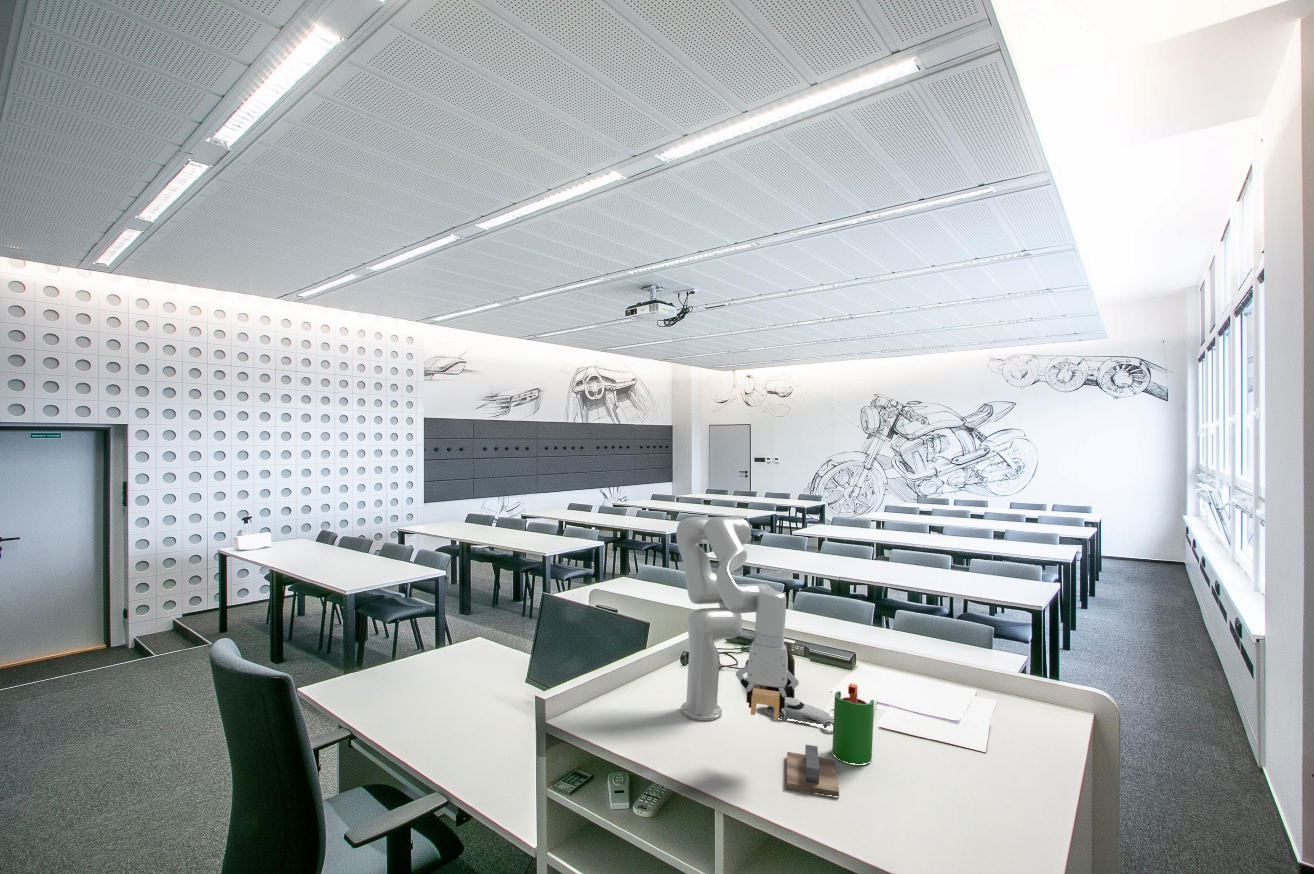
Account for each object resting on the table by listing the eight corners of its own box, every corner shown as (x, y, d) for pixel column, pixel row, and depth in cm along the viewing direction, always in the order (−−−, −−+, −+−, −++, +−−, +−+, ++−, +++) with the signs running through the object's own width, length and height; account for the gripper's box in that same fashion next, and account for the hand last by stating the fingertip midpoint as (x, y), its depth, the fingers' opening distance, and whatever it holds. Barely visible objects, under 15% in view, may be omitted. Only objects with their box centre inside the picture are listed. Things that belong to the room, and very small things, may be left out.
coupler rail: (804, 758, 156) (805, 744, 156) (816, 759, 155) (817, 746, 155) (806, 781, 144) (806, 767, 144) (818, 784, 143) (819, 769, 143)
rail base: (787, 757, 159) (787, 751, 159) (833, 764, 156) (834, 759, 156) (786, 789, 143) (786, 782, 143) (838, 798, 140) (839, 791, 140)
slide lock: (752, 704, 159) (753, 687, 159) (778, 709, 157) (779, 691, 157) (750, 714, 153) (751, 696, 153) (778, 718, 151) (779, 700, 151)
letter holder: (782, 678, 217) (784, 639, 218) (794, 700, 198) (796, 657, 198) (755, 676, 217) (757, 637, 218) (764, 698, 198) (766, 655, 198)
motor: (871, 754, 163) (874, 680, 164) (871, 769, 155) (875, 691, 155) (832, 746, 167) (836, 673, 167) (831, 760, 158) (834, 684, 159)
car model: (837, 735, 174) (838, 718, 174) (756, 715, 185) (757, 699, 185) (843, 721, 184) (844, 705, 184) (767, 703, 195) (767, 687, 195)
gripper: (734, 639, 153) (730, 708, 153) (803, 648, 150) (799, 719, 149) (737, 630, 161) (733, 697, 160) (803, 639, 157) (799, 707, 157)
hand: (765, 707), depth 155 cm, fingers closed on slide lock, 7 cm apart
